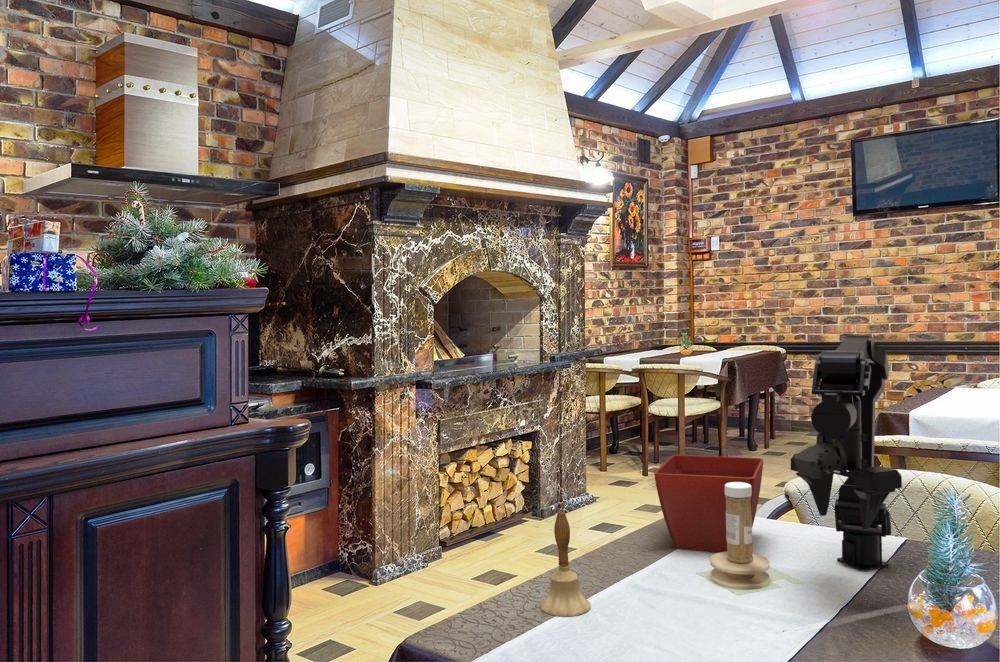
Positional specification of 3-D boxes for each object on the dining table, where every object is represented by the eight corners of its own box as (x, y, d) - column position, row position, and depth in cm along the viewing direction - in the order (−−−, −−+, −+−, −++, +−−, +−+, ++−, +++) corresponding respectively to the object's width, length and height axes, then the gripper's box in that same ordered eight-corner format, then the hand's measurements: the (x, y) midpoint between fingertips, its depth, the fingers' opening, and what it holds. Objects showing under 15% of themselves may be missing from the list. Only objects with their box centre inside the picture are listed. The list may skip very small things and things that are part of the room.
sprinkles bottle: (757, 563, 136) (755, 486, 136) (732, 565, 136) (730, 487, 135) (746, 555, 141) (745, 480, 140) (722, 556, 140) (720, 481, 140)
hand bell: (557, 620, 125) (554, 521, 124) (531, 604, 132) (528, 510, 132) (600, 610, 129) (597, 513, 128) (573, 594, 136) (570, 503, 136)
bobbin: (744, 566, 145) (744, 548, 144) (782, 583, 135) (782, 564, 135) (699, 574, 141) (698, 555, 141) (734, 593, 132) (733, 573, 132)
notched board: (759, 567, 147) (759, 561, 147) (805, 587, 136) (805, 582, 136) (695, 578, 142) (695, 572, 142) (738, 601, 131) (738, 595, 131)
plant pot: (654, 556, 155) (652, 471, 154) (674, 529, 172) (672, 453, 172) (755, 566, 147) (754, 477, 147) (765, 537, 165) (764, 458, 164)
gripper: (764, 424, 135) (766, 514, 135) (847, 440, 117) (849, 544, 118) (815, 419, 139) (817, 506, 139) (903, 434, 121) (905, 534, 122)
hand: (843, 522), depth 129 cm, fingers open, 9 cm apart
